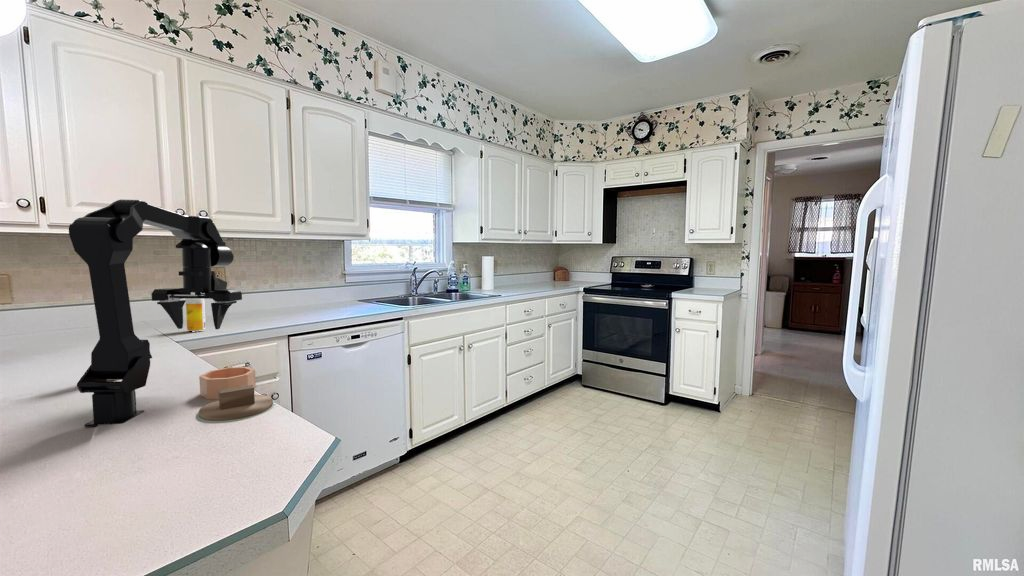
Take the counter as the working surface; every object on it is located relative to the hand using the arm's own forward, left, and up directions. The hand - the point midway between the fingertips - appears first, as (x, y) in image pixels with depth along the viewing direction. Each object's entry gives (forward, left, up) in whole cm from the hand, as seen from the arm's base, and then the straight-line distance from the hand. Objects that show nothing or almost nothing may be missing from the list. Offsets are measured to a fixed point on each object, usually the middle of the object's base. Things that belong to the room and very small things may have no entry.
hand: (198, 328), depth 105 cm
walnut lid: (-22, -18, -13) cm, 31 cm away
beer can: (+73, +38, -14) cm, 84 cm away
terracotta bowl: (-10, -11, -14) cm, 20 cm away
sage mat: (-22, -18, -14) cm, 32 cm away
